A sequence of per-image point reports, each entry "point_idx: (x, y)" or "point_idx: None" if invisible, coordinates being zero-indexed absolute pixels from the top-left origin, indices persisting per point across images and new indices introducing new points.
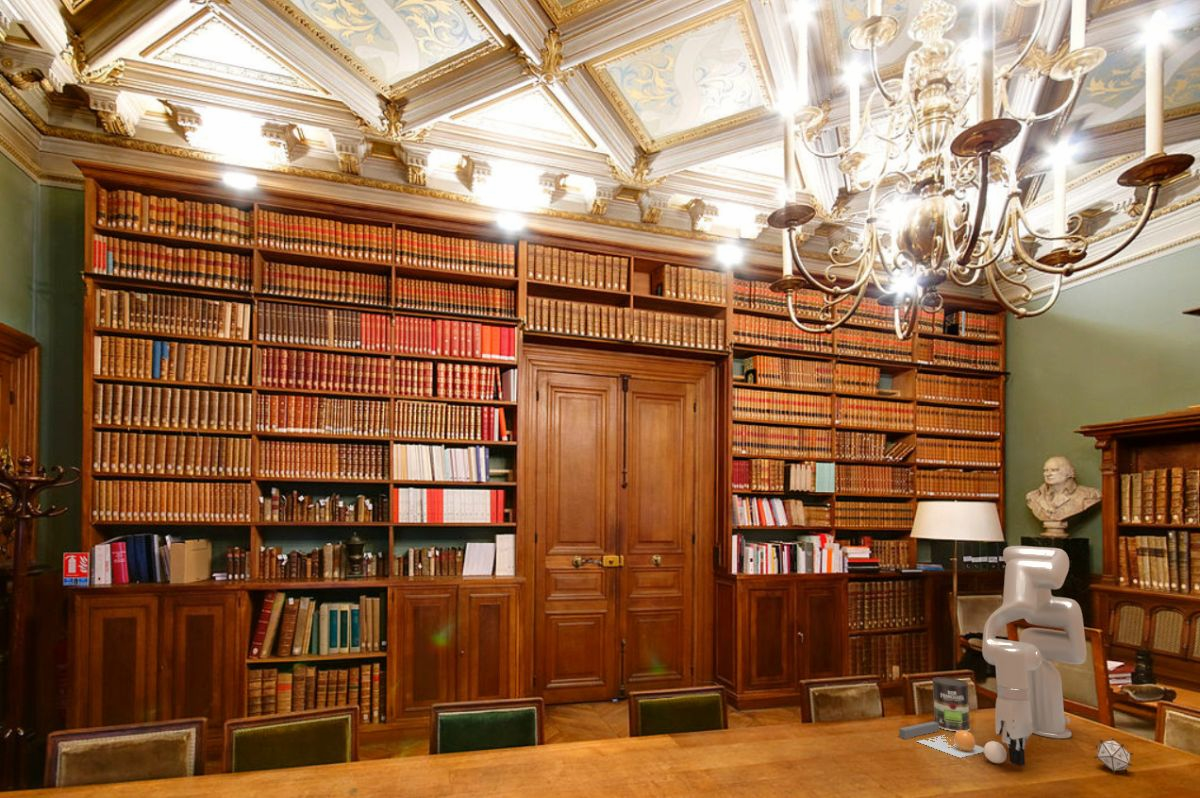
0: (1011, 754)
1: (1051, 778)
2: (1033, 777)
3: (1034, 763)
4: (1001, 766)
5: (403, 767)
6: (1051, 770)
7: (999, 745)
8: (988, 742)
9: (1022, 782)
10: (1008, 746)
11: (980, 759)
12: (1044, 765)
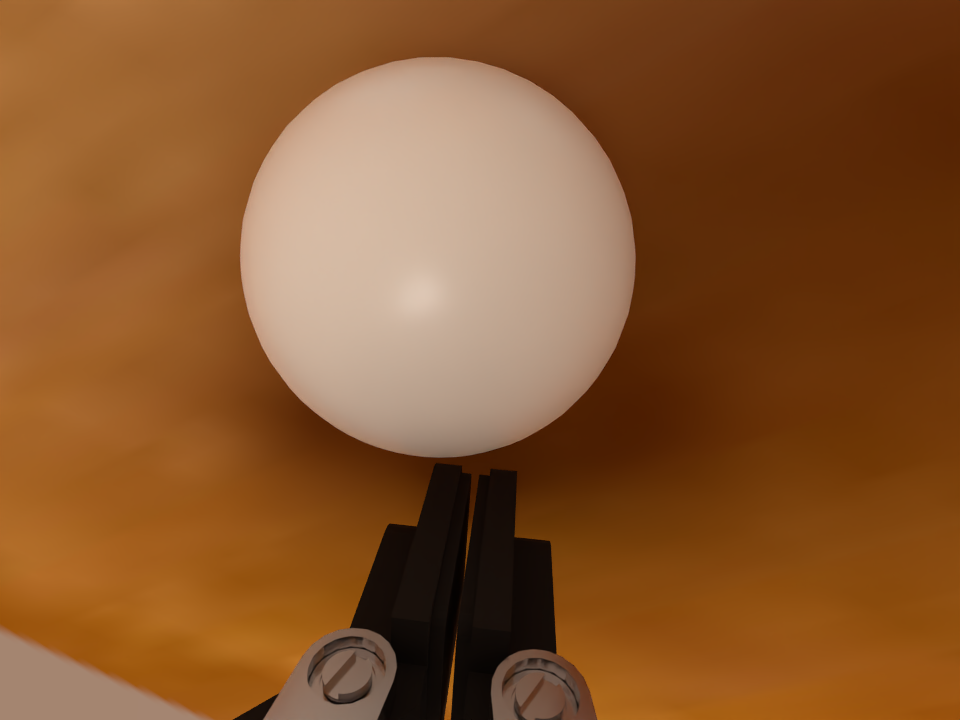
0: (366, 586)
1: None
2: None
3: (892, 500)
4: None
5: None
6: (791, 658)
7: (383, 433)
8: (334, 189)
9: (197, 623)
10: (313, 660)
11: (384, 27)
12: (911, 578)
